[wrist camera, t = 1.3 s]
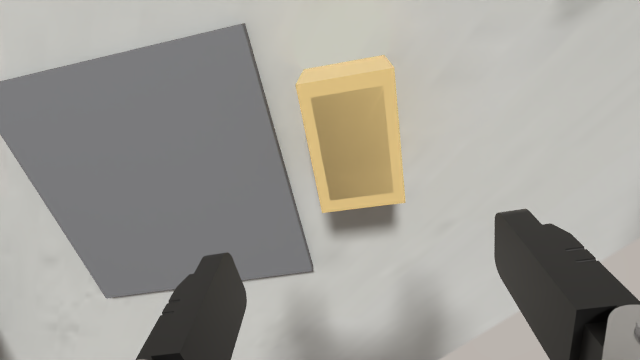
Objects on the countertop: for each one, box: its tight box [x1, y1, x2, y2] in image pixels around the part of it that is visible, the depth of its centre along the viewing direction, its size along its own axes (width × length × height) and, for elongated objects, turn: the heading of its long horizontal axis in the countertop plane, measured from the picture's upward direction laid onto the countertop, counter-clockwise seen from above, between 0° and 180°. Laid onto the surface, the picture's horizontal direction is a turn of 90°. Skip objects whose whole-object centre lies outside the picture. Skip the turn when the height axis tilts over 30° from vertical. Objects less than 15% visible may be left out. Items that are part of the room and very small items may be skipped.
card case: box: [296, 55, 405, 213], centre depth 21 cm, size 5×8×4 cm, turn 10°
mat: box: [0, 23, 313, 298], centre depth 25 cm, size 18×18×1 cm
